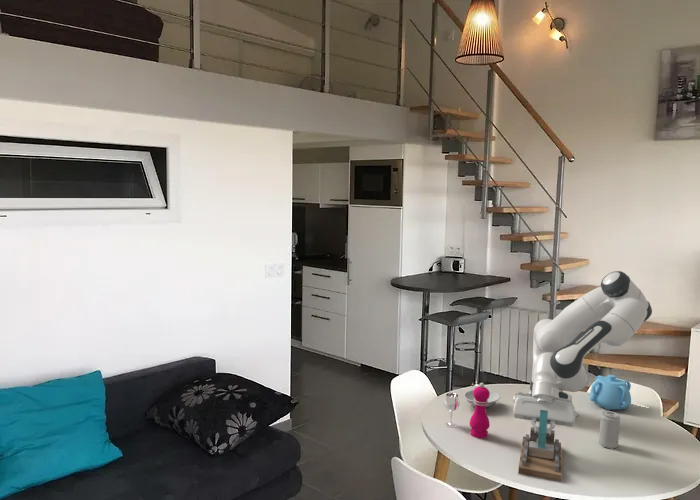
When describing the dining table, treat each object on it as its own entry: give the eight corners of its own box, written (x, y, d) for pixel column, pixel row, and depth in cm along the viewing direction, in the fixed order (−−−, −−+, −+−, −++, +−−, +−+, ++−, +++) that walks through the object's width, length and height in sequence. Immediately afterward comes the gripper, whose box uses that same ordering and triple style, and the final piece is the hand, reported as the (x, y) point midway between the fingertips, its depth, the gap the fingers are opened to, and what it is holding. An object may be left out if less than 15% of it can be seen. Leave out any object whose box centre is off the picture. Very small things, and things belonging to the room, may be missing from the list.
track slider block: (529, 449, 201) (531, 407, 200) (553, 453, 199) (556, 410, 197) (528, 455, 197) (531, 412, 195) (553, 459, 194) (556, 416, 192)
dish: (485, 417, 235) (485, 405, 234) (455, 407, 245) (455, 395, 244) (506, 406, 248) (507, 395, 247) (477, 397, 257) (478, 386, 257)
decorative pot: (634, 406, 254) (637, 375, 252) (625, 416, 241) (627, 384, 240) (595, 396, 264) (598, 367, 262) (584, 406, 251) (586, 375, 250)
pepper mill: (489, 440, 213) (492, 387, 211) (469, 437, 215) (472, 385, 213) (488, 432, 220) (491, 380, 218) (469, 430, 222) (471, 378, 220)
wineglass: (454, 429, 222) (456, 398, 220) (440, 425, 225) (442, 395, 224) (460, 424, 227) (462, 394, 225) (446, 421, 230) (448, 391, 228)
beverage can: (616, 443, 214) (619, 412, 213) (618, 450, 208) (621, 418, 207) (598, 440, 216) (600, 409, 215) (599, 447, 210) (601, 415, 209)
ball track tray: (522, 441, 213) (524, 423, 212) (560, 448, 208) (562, 429, 208) (518, 473, 188) (519, 452, 188) (561, 481, 184) (562, 460, 183)
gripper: (514, 387, 206) (510, 424, 197) (576, 396, 199) (575, 434, 191) (514, 395, 210) (510, 432, 202) (575, 404, 204) (573, 442, 195)
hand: (542, 433), depth 196 cm, fingers closed on track slider block, 2 cm apart
